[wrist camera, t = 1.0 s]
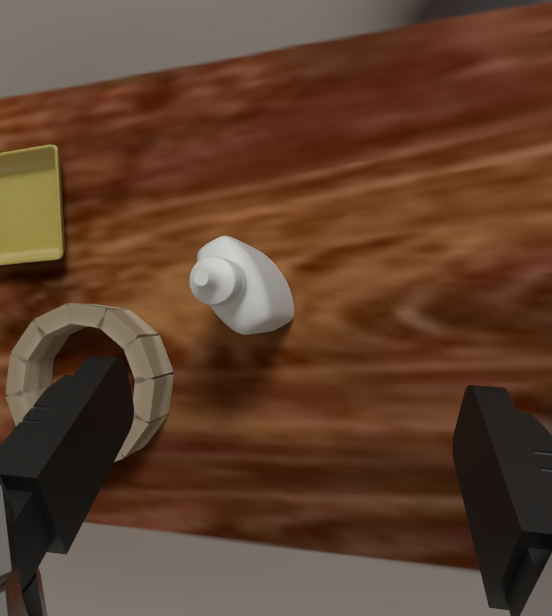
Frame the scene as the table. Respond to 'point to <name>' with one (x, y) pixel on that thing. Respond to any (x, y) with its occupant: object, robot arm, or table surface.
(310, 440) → the table surface
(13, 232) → the yellow square tray
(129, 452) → the birch ring collar
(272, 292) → the eye dropper bottle
